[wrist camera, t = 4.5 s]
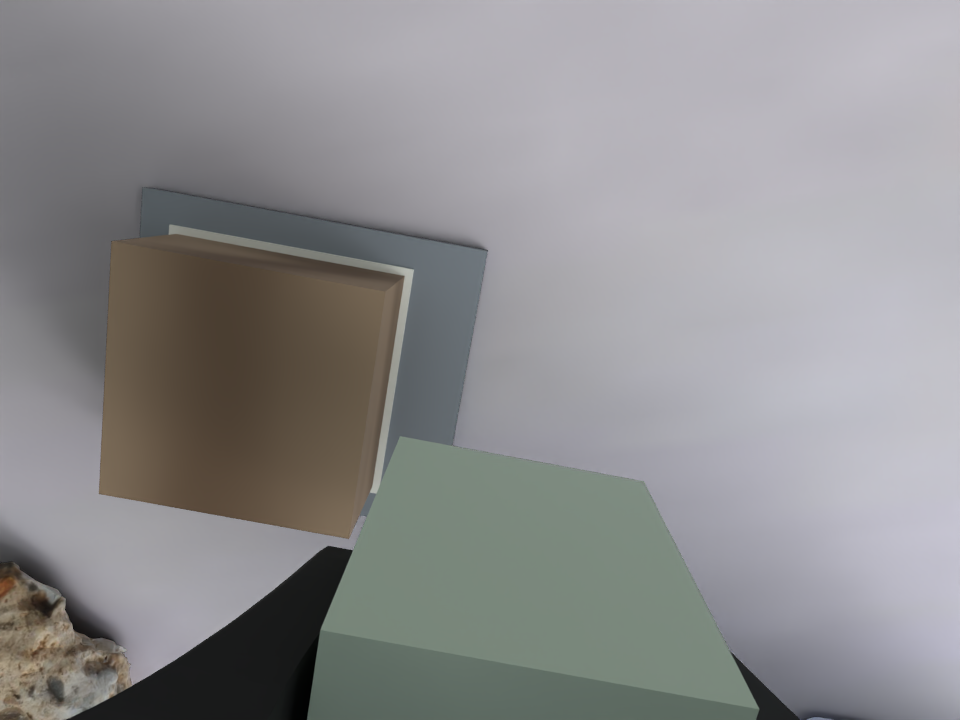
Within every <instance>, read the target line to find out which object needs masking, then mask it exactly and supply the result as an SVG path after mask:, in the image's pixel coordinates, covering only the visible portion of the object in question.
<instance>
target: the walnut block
mask: <svg viewBox="0 0 960 720" xmlns="http://www.w3.org/2000/svg"><path fill="white" fill-rule="evenodd" d="M404 278H405V276H402V275H397V274H391V273H386V272H381V271H375V270H370V269H364V268H359V267H354V266H348V265H343V264H337V263H332V262H326V261H321V260H316V259H310V258H305V257H299V256H294V255H289V254H283V253H278V252H272V251H267V250H262V249H256V248H251V247H245V246H240V245H234V244H229V243H224V242H218V241H213V240H207V239H202V238H197V237H191V236H186V235H180V234H170V235H161V236H153V237H144V238H135V239H126V240H117V241H111V261H110V281H109V301H108V321H107V342H106V362H105V382H104V402H103V422H102V442H101V463H100V483H99V494H102V495H108V496H114V497H119V498H125V499H130V500H136V501H141V502H147V503H153V504H158V505H164V506H169V507H175V508H180V509H186V510H191V511H197V512H203V513H208V514H214V515H219V516H225V517H230V518H236V519H242V520H247V521H253V522H258V523H264V524H269V525H275V526H280V527H286V528H292V529H297V530H303V531H308V532H314V533H319V534H325V535H331V536H336V537H342V538H347V539H349V537H350V535H351V533H352V531H353V528H354V526H355V524H356V522H357V520H358V517H359V515H360V513H361V511H362V508H363V506H364V504H365V502H366V499H367V497H368V495H369V493H370V490H371V488H372V485H373V479H374V472H375V466H376V459H377V453H378V446H379V440H380V433H381V427H382V420H383V414H384V407H385V401H386V394H387V388H388V382H389V375H390V369H391V362H392V356H393V349H394V343H395V336H396V330H397V323H398V317H399V310H400V304H401V297H402V291H403V284H404Z"/></svg>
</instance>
